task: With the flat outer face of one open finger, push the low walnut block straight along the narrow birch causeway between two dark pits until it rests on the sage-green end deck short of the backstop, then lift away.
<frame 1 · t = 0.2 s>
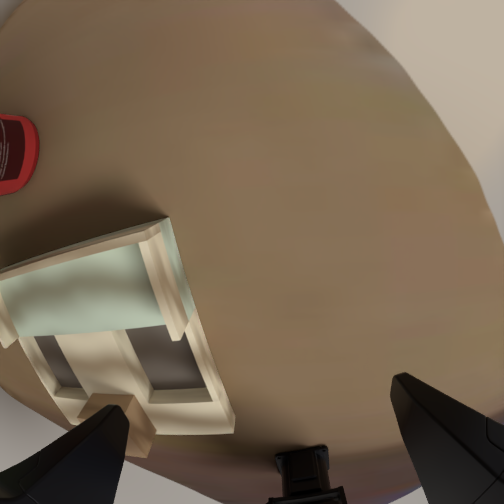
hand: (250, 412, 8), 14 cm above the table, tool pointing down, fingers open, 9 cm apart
canned food: (18, 154, 20), on the table
walnut block: (124, 412, 24), point 2 cm above the table, touching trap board
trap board: (103, 347, 24), on the table
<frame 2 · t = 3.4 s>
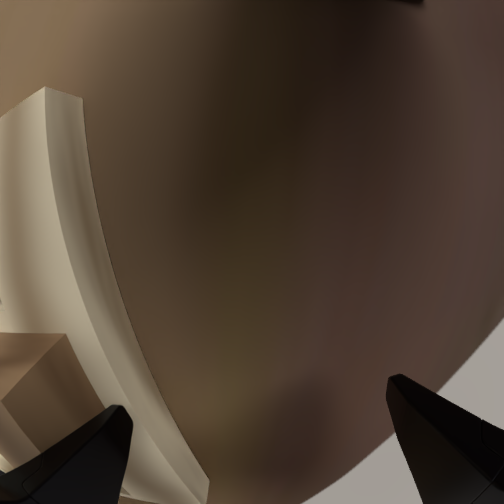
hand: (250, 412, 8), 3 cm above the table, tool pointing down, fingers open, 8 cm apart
walnut block: (51, 386, 9), point 2 cm above the table, touching gripper
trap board: (10, 352, 12), on the table
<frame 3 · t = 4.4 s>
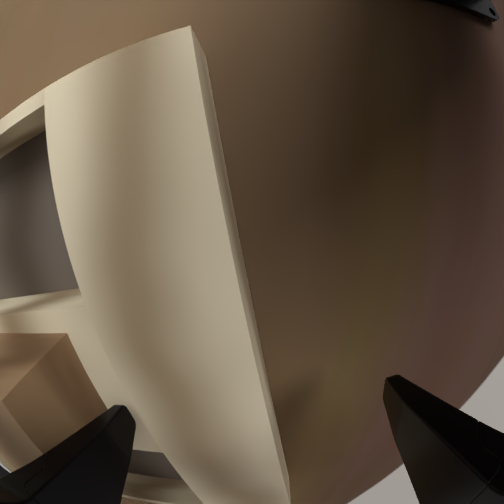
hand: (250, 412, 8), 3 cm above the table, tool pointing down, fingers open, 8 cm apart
walnut block: (53, 386, 9), point 2 cm above the table, touching gripper, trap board
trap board: (60, 358, 12), on the table
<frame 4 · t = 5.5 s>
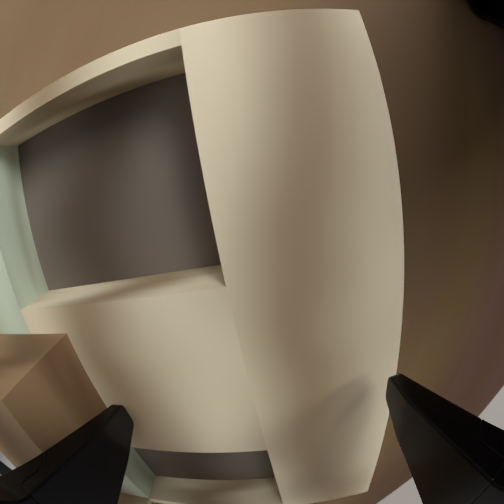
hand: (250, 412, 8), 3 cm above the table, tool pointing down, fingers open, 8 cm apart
walnut block: (53, 386, 9), point 2 cm above the table, touching gripper, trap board
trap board: (130, 358, 11), on the table
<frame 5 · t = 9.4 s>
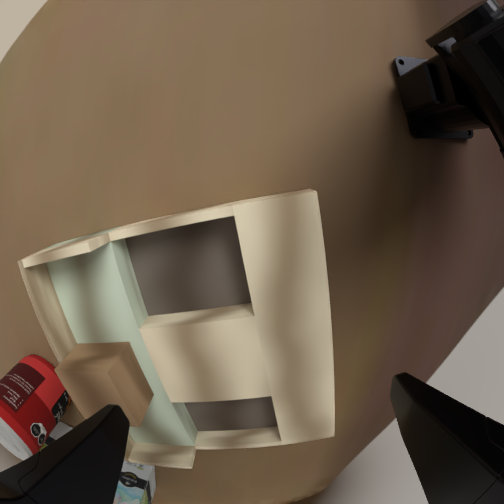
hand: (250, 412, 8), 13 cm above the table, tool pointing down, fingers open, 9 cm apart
tea box: (108, 455, 29), on the table
canned food: (48, 378, 25), on the table
walnut block: (114, 369, 20), point 2 cm above the table, touching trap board
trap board: (196, 350, 22), on the table
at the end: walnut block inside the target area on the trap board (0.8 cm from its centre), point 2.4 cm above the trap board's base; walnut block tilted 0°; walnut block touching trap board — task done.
